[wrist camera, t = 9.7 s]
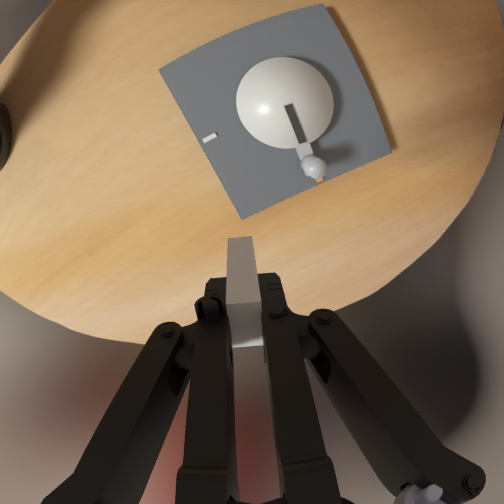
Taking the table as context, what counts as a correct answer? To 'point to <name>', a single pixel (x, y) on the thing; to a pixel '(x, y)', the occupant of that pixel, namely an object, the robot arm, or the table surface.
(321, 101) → the dial
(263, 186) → the panel
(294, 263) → the table surface
